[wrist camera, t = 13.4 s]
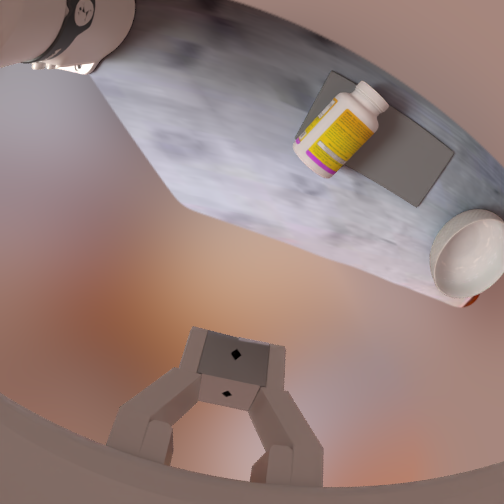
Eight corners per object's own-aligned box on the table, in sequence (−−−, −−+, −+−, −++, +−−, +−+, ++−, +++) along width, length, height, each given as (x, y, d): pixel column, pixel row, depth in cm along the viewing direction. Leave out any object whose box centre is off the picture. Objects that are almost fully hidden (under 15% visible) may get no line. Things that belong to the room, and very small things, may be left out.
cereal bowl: (406, 267, 52) (417, 293, 46) (443, 185, 42) (462, 206, 36) (472, 280, 52) (485, 304, 46) (509, 210, 42) (528, 231, 36)
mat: (294, 138, 41) (295, 139, 41) (331, 70, 35) (331, 71, 35) (415, 205, 45) (416, 207, 44) (452, 151, 39) (453, 152, 38)
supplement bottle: (336, 186, 40) (402, 120, 33) (306, 171, 35) (381, 93, 29) (312, 155, 43) (371, 93, 37) (282, 138, 39) (347, 67, 32)
